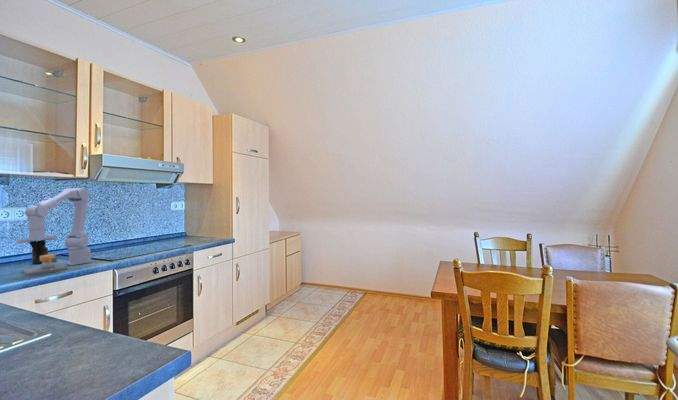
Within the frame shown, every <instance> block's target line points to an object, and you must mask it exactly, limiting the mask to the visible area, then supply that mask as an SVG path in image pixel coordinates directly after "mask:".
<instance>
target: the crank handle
mask: <svg viewBox="0 0 678 400" xmlns="http://www.w3.org/2000/svg"><path fill="white" fill-rule="evenodd" d="M57 259H58V257H56V253H55V254H54V253H51V254H49V253H48V255H42V256H40V261H50V262H52V263H53V264H54V263H57V262H58V260H57Z"/></svg>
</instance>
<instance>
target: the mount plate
mask: <svg viewBox="0 0 678 400" xmlns="http://www.w3.org/2000/svg"><path fill="white" fill-rule="evenodd" d="M67 270H68V267H67V266H64V265H63V264H54V262H53V263H52V262H50V261H42V264H41V266H38V267H32V268H24V269H21V273H22V274H24V275H25V274H26V275H25V276H27V277H29V276H30V275H32V276H36V275H37V274H38V275H43V274H48V273H54V272H55V273H56V272H61V271H67Z"/></svg>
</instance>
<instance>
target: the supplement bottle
mask: <svg viewBox="0 0 678 400" xmlns="http://www.w3.org/2000/svg"><path fill="white" fill-rule="evenodd" d="M48 254H49V249H48V247H47V245H46V244H45V245H44V246H43V248H42V251H41V255H40V256H42V255H48ZM40 256H36V255H35V252H34V249H33V248H32V249H31V259H32V260H31V264H32V265H42V261H40Z"/></svg>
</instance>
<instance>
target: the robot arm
mask: <svg viewBox="0 0 678 400" xmlns="http://www.w3.org/2000/svg"><path fill="white" fill-rule="evenodd" d="M89 194H90V193H89V191H88V190H87V189H86V188H85V187H77V188H76V187H74V188H73V187H66V188H65V189H62V191H61V192H59V193H58V194H56V195H55V196H53V197H52V198H51V197H45V198H43V200H41V201H40V202H36V203H35V205H28V206H27V207H26V208H25V210H24V215H25V216H26V218H27V220H28V235H29V237H26V238H20V239H19V238H18V239H16V244H17V245H18V244H25V243H27V244H28V243H29V245H30V247H31V248H32V249H34V252H35V255H36V256H40V255H41V251H42V248H43V246H44V245H46V242H47V241H57V240H58V236H57V235H52V236H51V235H50V236H46V229H45V228H46V226H45V221H46V220H45V216H48V212H50V211H51V210H53V209H54V208H56V207H58V204H59V203H61V202H63V201H65V200H68V201H70V202H71V203H73V204H74V214H73V220H72V227H71V231H70V232H69V233H67V235H66V238H65V239H64V246H65V248H67V250H68V262H66V264H67V265H69V266H75V265H82V264H88V263H92V254H91V248H90V247H88V245H89V243H90V242H89V234H87V233H86V232H85V225H86V219H87V210H88V202H89Z"/></svg>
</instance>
